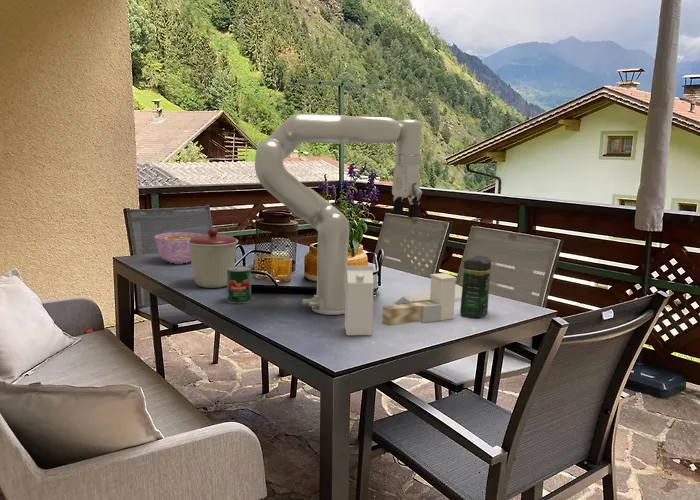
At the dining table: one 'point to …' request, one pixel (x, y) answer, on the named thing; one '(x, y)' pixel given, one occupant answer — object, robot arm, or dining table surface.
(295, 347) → the dining table surface
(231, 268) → the canned tomato
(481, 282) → the coffee jar
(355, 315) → the milk carton
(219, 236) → the canister
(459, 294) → the crown molding
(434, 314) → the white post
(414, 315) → the birch rail
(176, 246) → the bowl of food
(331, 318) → the dining table surface
